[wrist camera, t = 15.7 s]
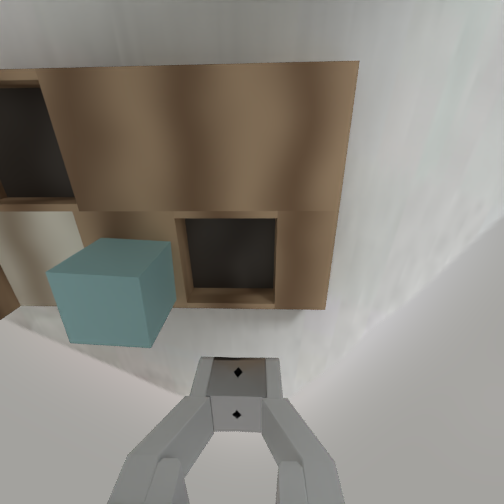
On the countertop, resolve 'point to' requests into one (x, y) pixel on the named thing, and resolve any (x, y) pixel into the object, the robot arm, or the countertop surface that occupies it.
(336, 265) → the countertop surface
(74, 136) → the board
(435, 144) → the countertop surface
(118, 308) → the teal block
